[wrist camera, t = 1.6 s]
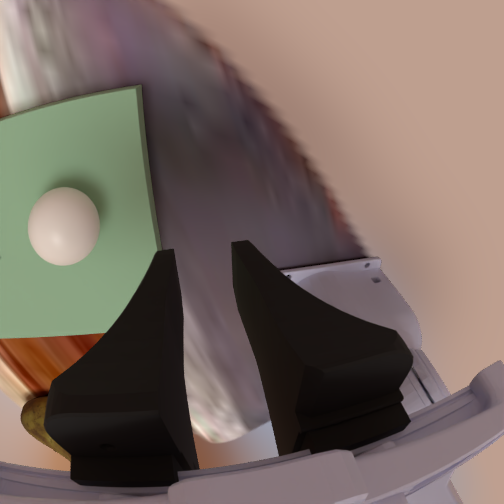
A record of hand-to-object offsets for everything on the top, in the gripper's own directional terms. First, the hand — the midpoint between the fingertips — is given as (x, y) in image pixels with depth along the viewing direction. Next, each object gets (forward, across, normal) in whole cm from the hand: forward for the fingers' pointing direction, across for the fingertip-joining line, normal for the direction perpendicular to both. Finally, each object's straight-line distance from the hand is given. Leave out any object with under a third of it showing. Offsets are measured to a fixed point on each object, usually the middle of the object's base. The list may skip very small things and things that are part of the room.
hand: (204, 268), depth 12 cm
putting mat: (+9, +12, +2) cm, 16 cm away
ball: (+5, +7, 0) cm, 9 cm away
